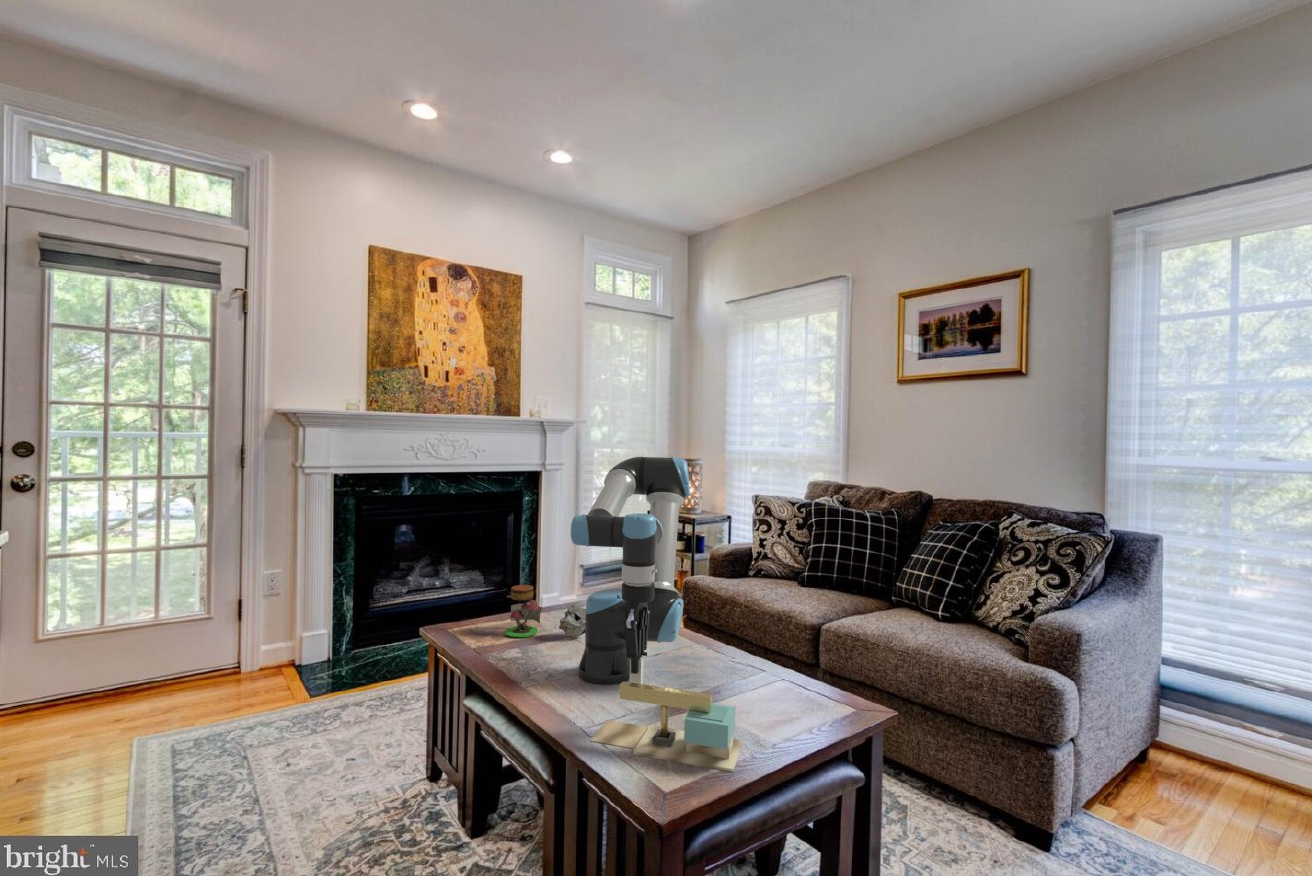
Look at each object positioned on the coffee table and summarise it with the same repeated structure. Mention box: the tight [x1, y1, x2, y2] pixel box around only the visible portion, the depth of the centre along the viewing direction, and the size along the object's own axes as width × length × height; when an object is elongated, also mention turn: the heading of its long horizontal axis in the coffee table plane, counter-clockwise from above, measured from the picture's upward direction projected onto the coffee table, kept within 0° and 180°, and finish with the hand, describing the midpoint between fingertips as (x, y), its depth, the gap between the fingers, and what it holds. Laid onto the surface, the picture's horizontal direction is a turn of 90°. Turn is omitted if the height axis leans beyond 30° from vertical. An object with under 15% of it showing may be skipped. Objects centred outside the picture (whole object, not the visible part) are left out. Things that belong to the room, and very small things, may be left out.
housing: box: [632, 724, 743, 772], centre depth 129 cm, size 21×12×4 cm, turn 73°
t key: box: [619, 681, 713, 738], centre depth 131 cm, size 20×2×11 cm, turn 73°
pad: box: [589, 719, 649, 750], centre depth 135 cm, size 10×10×1 cm
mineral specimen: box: [558, 604, 586, 639], centre depth 198 cm, size 10×8×10 cm
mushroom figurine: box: [504, 584, 544, 638], centre depth 202 cm, size 12×13×15 cm
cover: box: [683, 703, 736, 750], centre depth 128 cm, size 9×9×5 cm
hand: (636, 685), depth 139 cm, fingers closed
